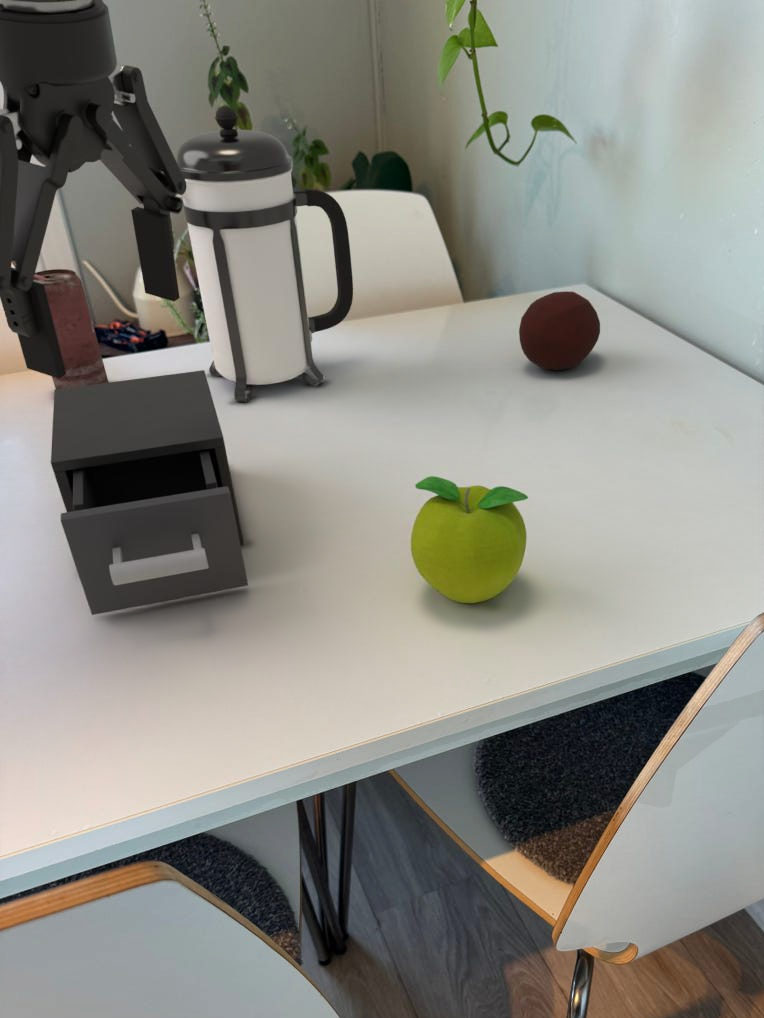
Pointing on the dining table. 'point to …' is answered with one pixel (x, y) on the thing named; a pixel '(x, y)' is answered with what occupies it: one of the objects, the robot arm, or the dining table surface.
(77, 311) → the can
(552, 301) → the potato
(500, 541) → the fruit
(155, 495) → the drawer
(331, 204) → the coffee press
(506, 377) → the dining table surface
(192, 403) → the small grey cabinet
